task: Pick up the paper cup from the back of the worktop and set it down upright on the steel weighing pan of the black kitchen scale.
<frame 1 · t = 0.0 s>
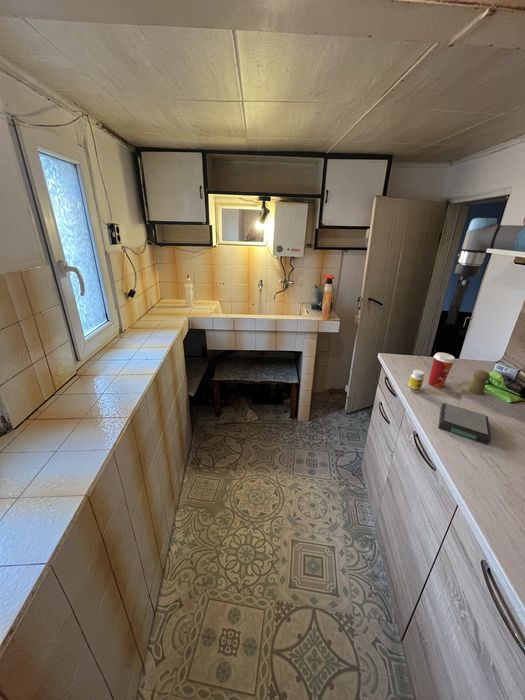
hand: (450, 319, 112), 29 cm above the counter, tool pointing down, fingers open, 13 cm apart
kitchen scale: (462, 425, 98), on the counter
paper cup: (435, 384, 123), on the counter
cork: (473, 395, 116), on the counter
supplement bottle: (413, 389, 119), on the counter
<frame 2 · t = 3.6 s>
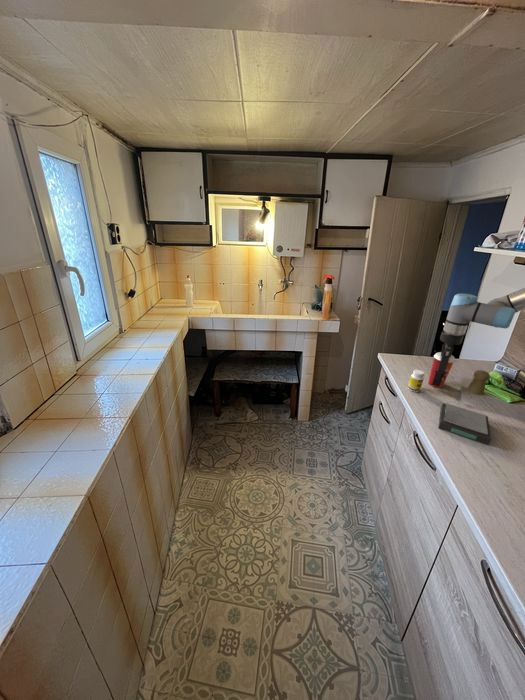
hand: (436, 381, 122), 1 cm above the counter, tool pointing down, fingers closed on paper cup, 7 cm apart
paper cup: (435, 384, 123), on the counter, touching gripper
everything else where it was.
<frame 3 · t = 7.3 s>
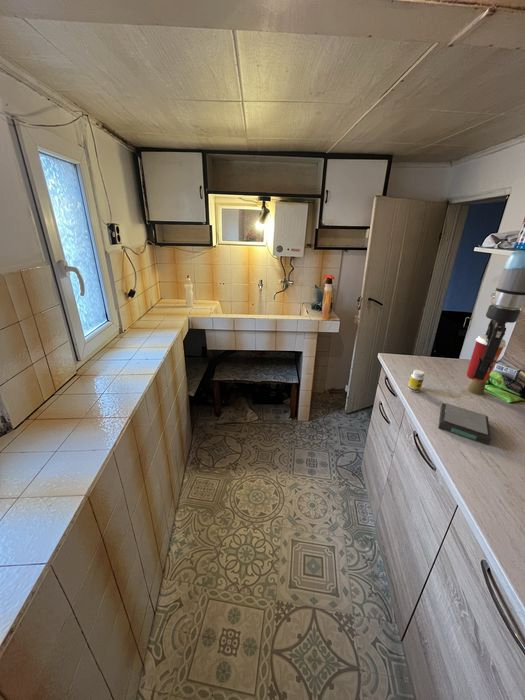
hand: (477, 374, 93), 19 cm above the counter, tool pointing down, fingers closed on paper cup, 7 cm apart
paper cup: (476, 377, 94), point 17 cm above the counter, touching gripper
everything else where it was.
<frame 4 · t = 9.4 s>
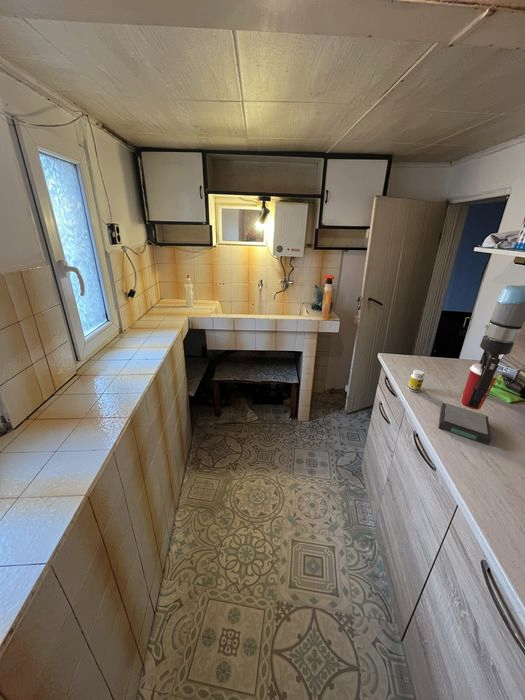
hand: (472, 401, 94), 10 cm above the counter, tool pointing down, fingers closed on paper cup, 7 cm apart
paper cup: (470, 405, 95), point 8 cm above the counter, touching gripper
everything else where it was.
when the fingers open (5 cm above the counter, at t = 11.0 s): paper cup stays where it is, resting on kitchen scale.
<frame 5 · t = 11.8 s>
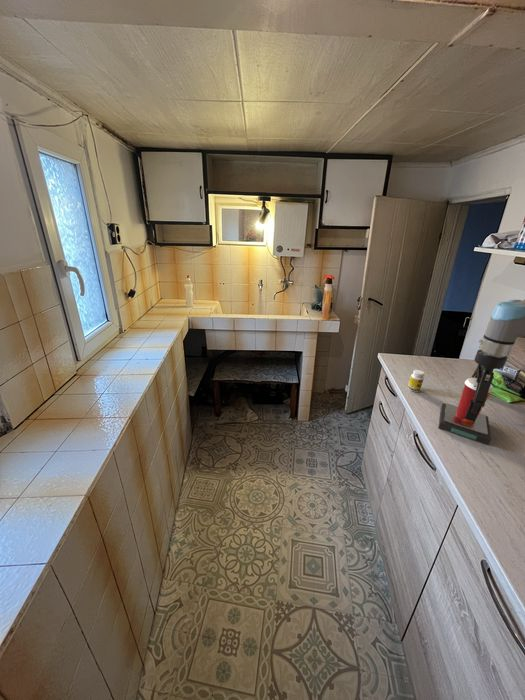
hand: (469, 409, 95), 7 cm above the counter, tool pointing down, fingers open, 13 cm apart
paper cup: (465, 417, 97), point 3 cm above the counter, touching kitchen scale
everything else where it was.
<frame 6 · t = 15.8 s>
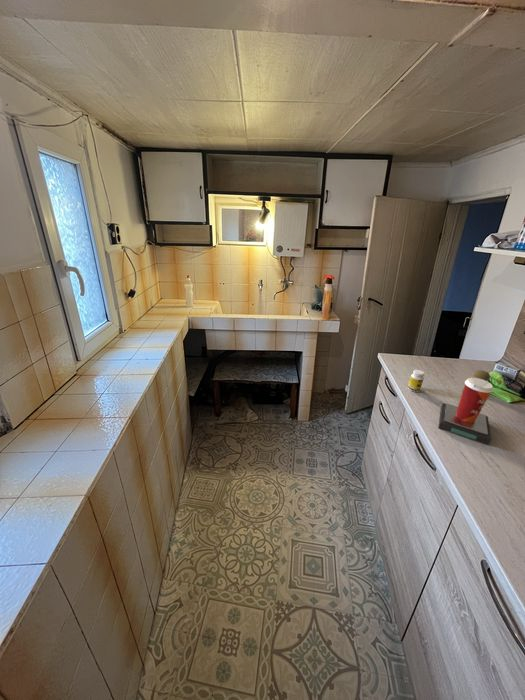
nothing on the counter moved.
at the end: paper cup inside the target area on the kitchen scale (0.1 cm from its centre), point 3.1 cm above the kitchen scale's base; paper cup tilted 0°; the gripper is holding nothing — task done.
